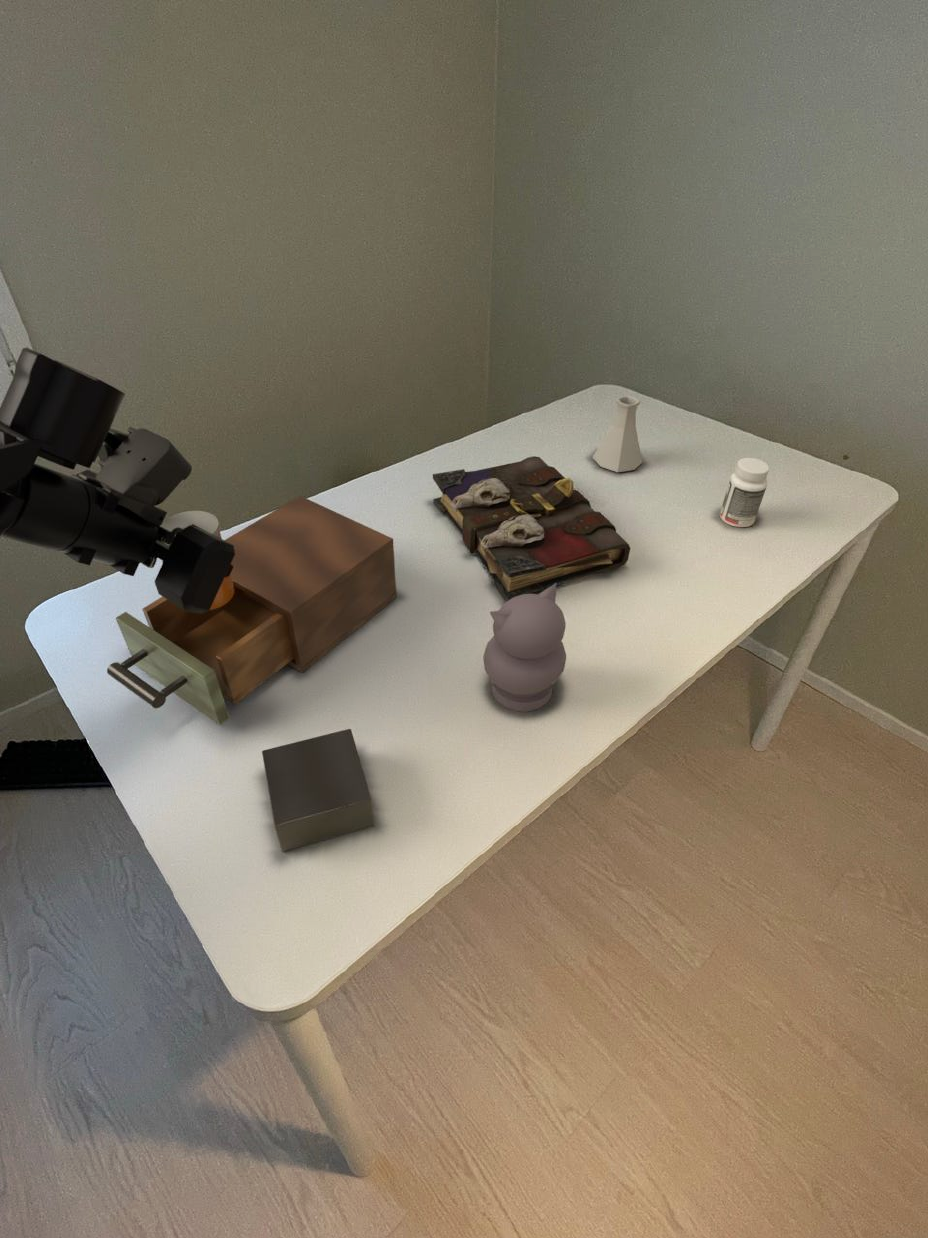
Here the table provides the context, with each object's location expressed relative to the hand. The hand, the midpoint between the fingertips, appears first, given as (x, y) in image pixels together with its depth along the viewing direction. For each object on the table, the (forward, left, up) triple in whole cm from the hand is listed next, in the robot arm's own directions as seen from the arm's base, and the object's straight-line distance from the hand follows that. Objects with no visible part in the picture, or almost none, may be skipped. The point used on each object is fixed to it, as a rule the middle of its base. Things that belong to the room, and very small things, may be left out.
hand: (212, 560), depth 68 cm
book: (+39, +7, -13) cm, 42 cm away
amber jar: (-1, -1, -3) cm, 4 cm away
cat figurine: (+25, -17, -13) cm, 33 cm away
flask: (+62, +18, -13) cm, 66 cm away
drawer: (-2, -1, -12) cm, 12 cm away
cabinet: (+9, +5, -13) cm, 17 cm away
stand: (+2, -21, -13) cm, 25 cm away
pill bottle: (+68, -2, -13) cm, 70 cm away
